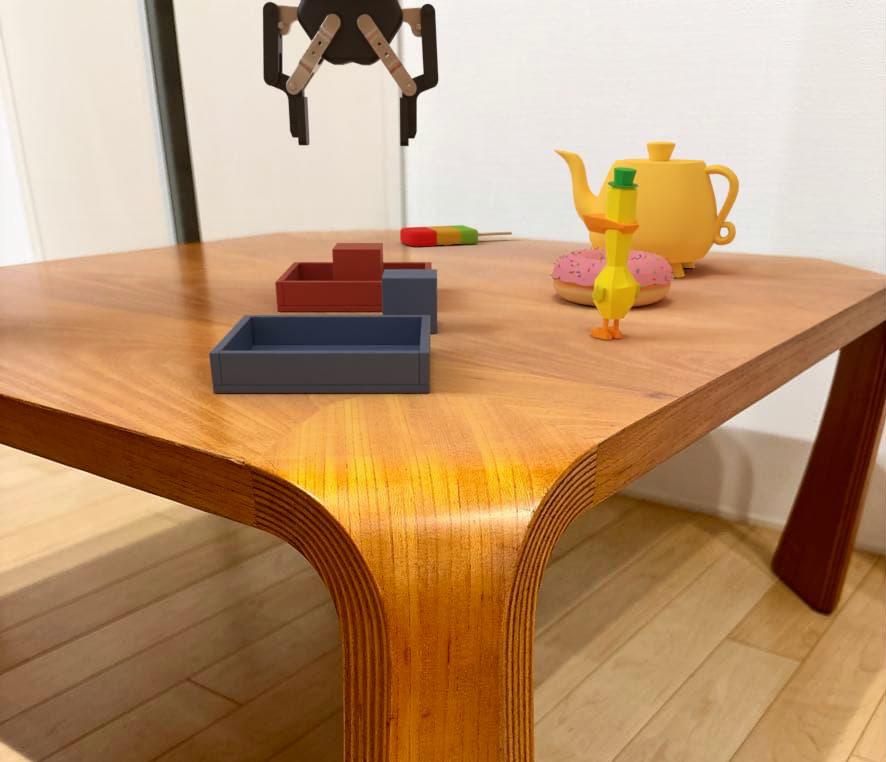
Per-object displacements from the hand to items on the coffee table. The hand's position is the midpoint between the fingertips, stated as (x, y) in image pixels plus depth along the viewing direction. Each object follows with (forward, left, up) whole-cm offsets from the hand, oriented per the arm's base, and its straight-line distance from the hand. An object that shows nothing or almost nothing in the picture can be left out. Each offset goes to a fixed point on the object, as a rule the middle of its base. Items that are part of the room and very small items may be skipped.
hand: (354, 145), depth 77 cm
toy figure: (+20, -15, -13) cm, 28 cm away
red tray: (0, 0, -13) cm, 13 cm away
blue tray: (0, -25, -13) cm, 28 cm away
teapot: (+29, +18, -13) cm, 37 cm away
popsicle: (+10, +40, -13) cm, 44 cm away
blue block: (+5, -12, -13) cm, 18 cm away
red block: (0, 0, -12) cm, 12 cm away
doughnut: (+23, 0, -13) cm, 26 cm away
